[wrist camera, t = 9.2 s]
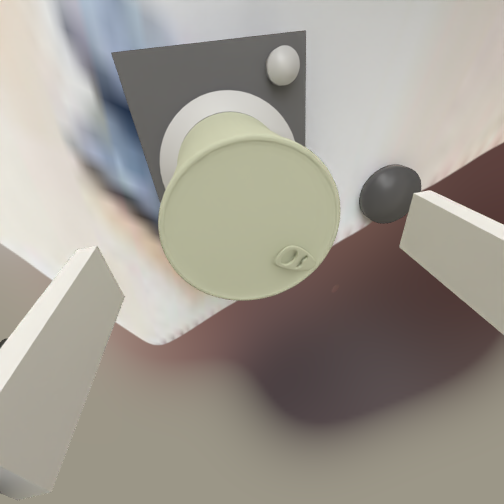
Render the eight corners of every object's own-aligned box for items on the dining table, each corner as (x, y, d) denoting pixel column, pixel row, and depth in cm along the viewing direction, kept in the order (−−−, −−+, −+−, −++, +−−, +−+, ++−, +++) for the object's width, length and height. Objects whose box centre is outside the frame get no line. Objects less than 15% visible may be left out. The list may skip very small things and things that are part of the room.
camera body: (125, 58, 21) (106, 50, 17) (290, 39, 22) (310, 27, 18) (182, 243, 31) (178, 267, 27) (293, 224, 32) (307, 244, 28)
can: (246, 234, 26) (273, 325, 16) (158, 188, 22) (122, 270, 12) (303, 155, 22) (383, 207, 12) (212, 84, 19) (223, 77, 9)
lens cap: (349, 187, 31) (355, 191, 30) (404, 151, 29) (412, 154, 28) (369, 228, 34) (375, 233, 33) (419, 198, 33) (427, 202, 32)
